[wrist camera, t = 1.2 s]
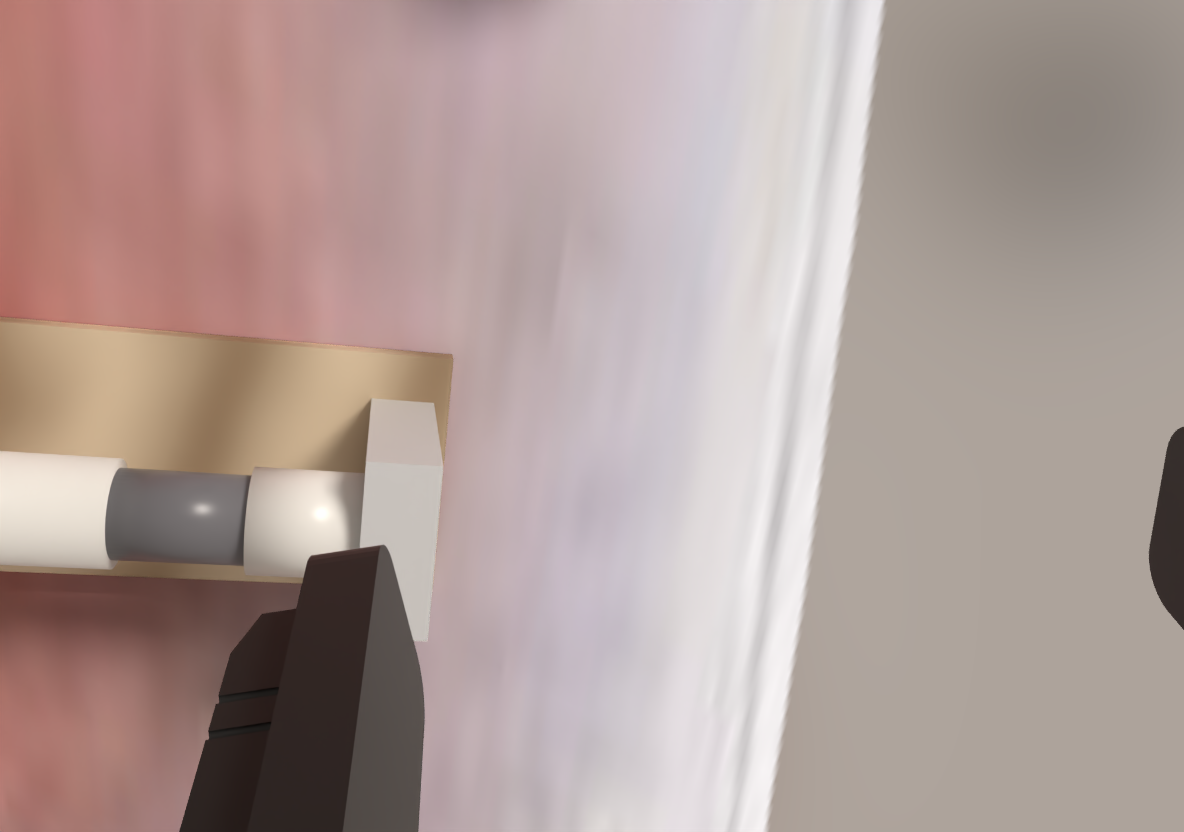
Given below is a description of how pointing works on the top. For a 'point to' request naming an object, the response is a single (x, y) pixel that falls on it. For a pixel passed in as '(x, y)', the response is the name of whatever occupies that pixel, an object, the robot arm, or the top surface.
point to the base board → (200, 406)
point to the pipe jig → (236, 510)
